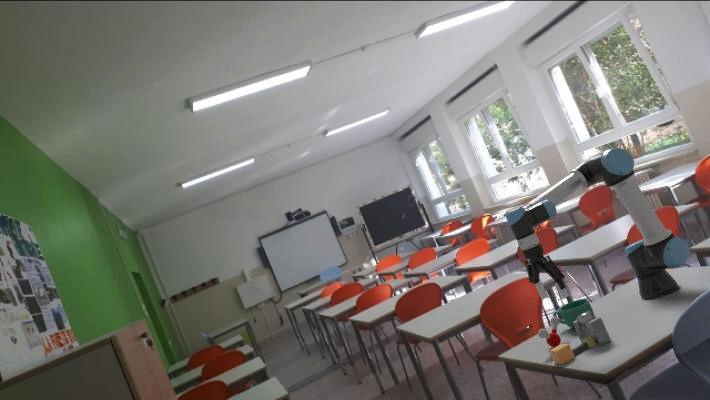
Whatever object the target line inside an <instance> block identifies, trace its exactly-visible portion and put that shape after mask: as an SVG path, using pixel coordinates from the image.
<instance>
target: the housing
mask: <svg viewBox="0 0 710 400" xmlns="http://www.w3.org/2000/svg"><path fill="white" fill-rule="evenodd" d="M572 323H573V325H574V327H575V328H574V329H575V331H576V334H577V335H578V338H579V341H580V343H581V344H582V343H583V341H582V339H584V338H586V337H592V338H593V340H594V342H595V344H596V346H597V347H602V346H603V345H605V344H608V343H609V342H610V341H612V339H611V337H610V335H609V333H608V330H607V328H606V326H605V324H604V321H603V319H602V317H599V316H598V317H597V316H596V315H595V313H594V314H593V313H592V312H590V311H587V312H585V313H583V314H582V315H580V316H578V317H577V318H576V321H574V322H572Z"/></svg>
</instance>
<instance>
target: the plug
mask: <svg viewBox="0 0 710 400" xmlns="http://www.w3.org/2000/svg"><path fill="white" fill-rule="evenodd" d="M582 341H583V343H581V344H579V345H577V346H575V347H573V348H571V346H570V344H569V343H560V344H559V345H558V346H556V347H553V348H551V349H549V350H548V351H549V353H550V355H551V358H552V359H553V362H554V364H557V363H558V365H563V364H565V363H568V362H569V361H570V360H572V359H574V358H575V357H576V356H575V355H577V354H578V353H580V352H582V351H584V350H586V349H587V348H592V347H594V346H597V344H596V342H595V340H593V338H592V337H586V338H584V339H582Z"/></svg>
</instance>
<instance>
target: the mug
mask: <svg viewBox="0 0 710 400" xmlns="http://www.w3.org/2000/svg"><path fill="white" fill-rule="evenodd" d="M587 311H590V312H592V313H593V314H594V315H595V312H594V310H593V307H592V305H591V302H590V301H589V299H588V298H581V299H576V300H573V301H569V302H567V303H566V304H564V305H561V307H560V308H558V309H557V310H554V311H553V316H552V317H554V316H555V317H558V316H557V314H559V315H560V316H561V317H562V319H561V318H559V320H560V323H559V324H562V325H566V326H567V327H569V328H571V329H575V327H574V325H573V323H572V322H574V321H576V318H577V317H578V316H580V315H582V314H583V313H585V312H587Z"/></svg>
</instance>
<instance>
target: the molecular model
mask: <svg viewBox="0 0 710 400" xmlns="http://www.w3.org/2000/svg"><path fill="white" fill-rule="evenodd" d="M559 319H560V318H559V317H558V316H557V317H555V316H554V317H553V316H552V317H551V318H550V320H549V321H550V324H551V325H552V326H551V332H550V333H548V330H547V329H545V328H540V329H538V332H537V334H538V337H540V339H545V340H546V343H547V345H548V346H550V347H553V348H555V347H557V346H558V345H560V344H561V337H560V335H559V334H558V333H557V331H558V329H557V328H558V326H559V324H561V323H560V320H559Z"/></svg>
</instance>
